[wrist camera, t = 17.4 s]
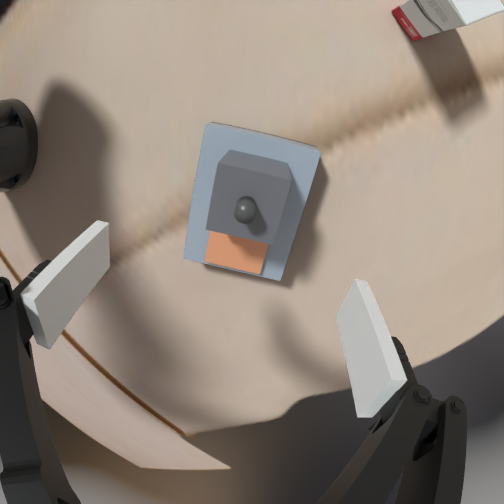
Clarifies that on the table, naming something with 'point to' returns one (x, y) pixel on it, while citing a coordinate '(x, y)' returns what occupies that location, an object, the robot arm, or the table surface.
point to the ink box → (442, 15)
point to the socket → (261, 144)
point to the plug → (248, 196)
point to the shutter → (235, 252)
